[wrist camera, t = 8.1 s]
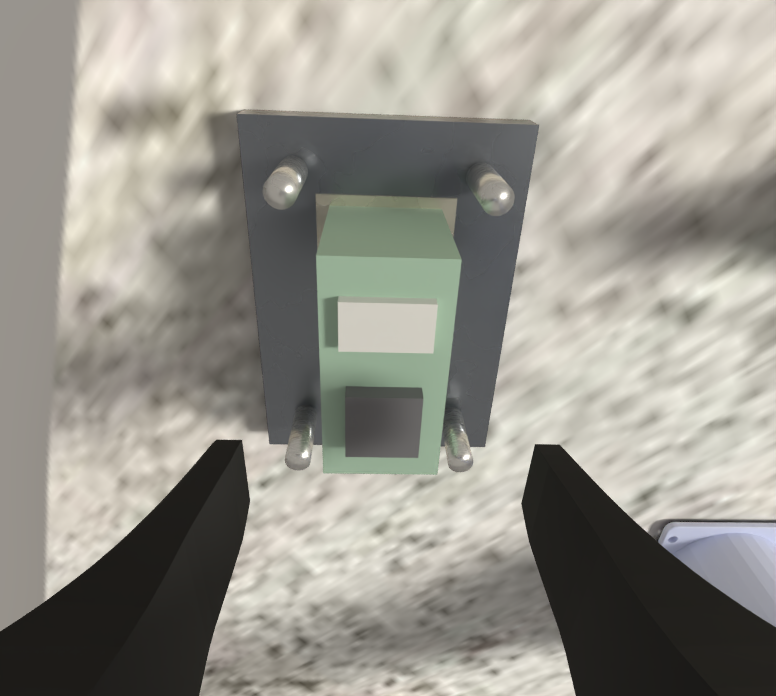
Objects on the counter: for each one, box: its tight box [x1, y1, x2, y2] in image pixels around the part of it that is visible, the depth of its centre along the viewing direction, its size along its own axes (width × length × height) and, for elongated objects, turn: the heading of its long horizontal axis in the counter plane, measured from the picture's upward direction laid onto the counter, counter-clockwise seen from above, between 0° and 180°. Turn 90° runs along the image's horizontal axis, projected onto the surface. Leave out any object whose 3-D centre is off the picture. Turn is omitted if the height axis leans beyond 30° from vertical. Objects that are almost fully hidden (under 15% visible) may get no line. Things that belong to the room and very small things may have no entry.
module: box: [316, 206, 462, 475], centre depth 18 cm, size 8×4×6 cm, turn 178°
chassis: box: [237, 110, 539, 472], centre depth 20 cm, size 14×10×4 cm
